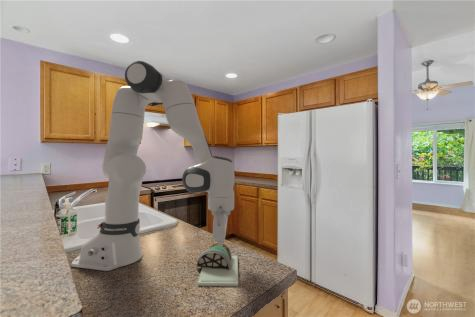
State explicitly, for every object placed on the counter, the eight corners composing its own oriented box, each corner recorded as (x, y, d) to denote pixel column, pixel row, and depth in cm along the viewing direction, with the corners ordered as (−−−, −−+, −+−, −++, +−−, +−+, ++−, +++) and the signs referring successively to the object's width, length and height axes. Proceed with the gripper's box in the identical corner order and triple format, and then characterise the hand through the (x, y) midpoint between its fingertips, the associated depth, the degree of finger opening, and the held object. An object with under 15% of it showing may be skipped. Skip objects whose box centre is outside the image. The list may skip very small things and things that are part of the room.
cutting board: (197, 285, 66) (197, 282, 66) (205, 257, 85) (206, 254, 85) (238, 286, 66) (238, 283, 66) (237, 257, 85) (237, 255, 85)
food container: (235, 241, 84) (231, 252, 74) (235, 257, 84) (230, 270, 74) (203, 238, 85) (195, 249, 75) (203, 255, 85) (194, 267, 75)
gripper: (229, 211, 66) (229, 258, 66) (231, 198, 86) (230, 234, 86) (208, 210, 66) (207, 257, 66) (214, 198, 86) (214, 234, 86)
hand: (220, 244), depth 76 cm, fingers closed
